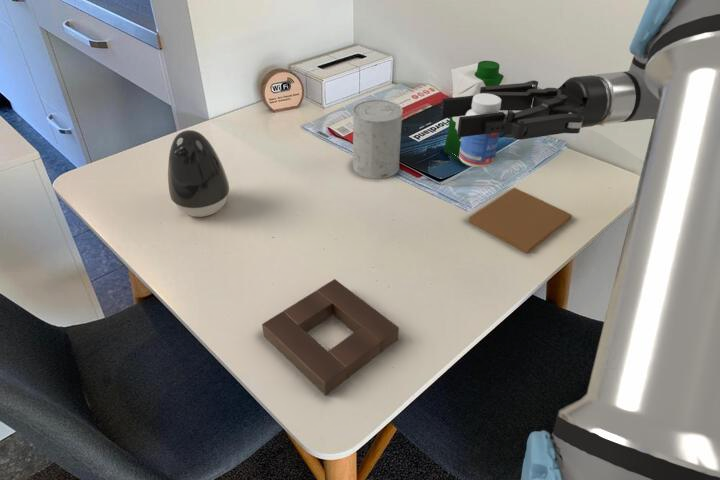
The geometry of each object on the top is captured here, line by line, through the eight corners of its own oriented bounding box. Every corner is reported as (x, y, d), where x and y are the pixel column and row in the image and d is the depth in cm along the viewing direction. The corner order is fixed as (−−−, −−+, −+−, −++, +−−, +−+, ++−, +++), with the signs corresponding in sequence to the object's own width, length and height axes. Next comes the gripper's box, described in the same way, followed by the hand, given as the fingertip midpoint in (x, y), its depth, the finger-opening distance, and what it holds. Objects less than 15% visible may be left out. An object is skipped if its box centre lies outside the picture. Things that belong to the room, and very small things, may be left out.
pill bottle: (488, 172, 77) (500, 110, 71) (453, 163, 79) (462, 102, 73) (498, 155, 81) (510, 95, 75) (465, 147, 83) (474, 88, 76)
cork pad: (527, 253, 86) (528, 249, 85) (468, 221, 92) (469, 217, 92) (570, 219, 93) (572, 214, 92) (513, 191, 100) (514, 187, 99)
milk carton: (464, 169, 106) (479, 73, 94) (437, 150, 112) (447, 57, 100) (496, 158, 110) (515, 64, 97) (468, 140, 116) (482, 49, 103)
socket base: (325, 396, 64) (324, 383, 62) (263, 336, 71) (261, 323, 70) (398, 339, 71) (399, 327, 69) (335, 290, 78) (334, 278, 77)
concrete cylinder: (394, 181, 102) (398, 124, 95) (347, 175, 104) (347, 118, 96) (402, 157, 110) (406, 102, 102) (358, 152, 111) (359, 97, 104)
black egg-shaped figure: (165, 223, 91) (143, 145, 82) (187, 190, 99) (169, 116, 90) (221, 227, 90) (206, 149, 81) (239, 194, 98) (227, 119, 89)
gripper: (624, 152, 74) (474, 173, 69) (554, 99, 88) (425, 114, 83) (642, 102, 70) (483, 121, 65) (565, 55, 83) (429, 68, 79)
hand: (450, 117), depth 74 cm, fingers closed on pill bottle, 5 cm apart
